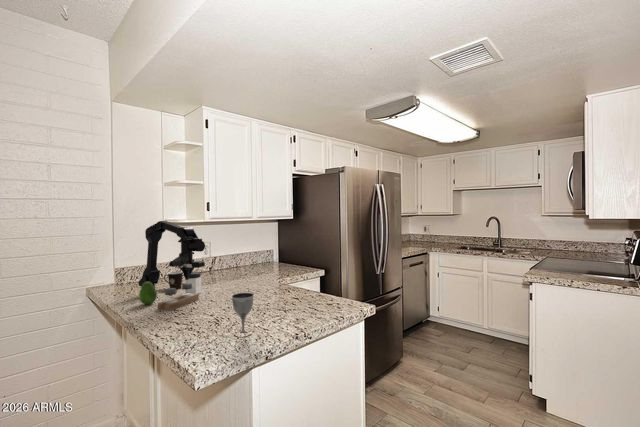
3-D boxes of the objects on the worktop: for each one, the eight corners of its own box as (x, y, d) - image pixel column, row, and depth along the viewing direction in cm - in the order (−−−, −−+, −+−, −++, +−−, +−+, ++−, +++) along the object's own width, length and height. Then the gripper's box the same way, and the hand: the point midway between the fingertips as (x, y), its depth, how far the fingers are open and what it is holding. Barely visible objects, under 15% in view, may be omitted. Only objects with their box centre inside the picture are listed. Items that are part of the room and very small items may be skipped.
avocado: (136, 305, 157) (136, 282, 157) (150, 301, 164) (150, 279, 164) (145, 307, 154) (145, 283, 154) (160, 303, 160) (160, 280, 160)
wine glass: (234, 330, 122) (234, 292, 122) (254, 329, 123) (254, 292, 123) (230, 338, 114) (230, 298, 114) (252, 337, 115) (251, 297, 115)
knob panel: (157, 309, 150) (157, 302, 150) (186, 298, 170) (186, 292, 170) (171, 310, 148) (171, 303, 148) (198, 299, 167) (198, 293, 167)
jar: (203, 293, 180) (202, 273, 180) (188, 295, 175) (188, 274, 175) (198, 290, 187) (198, 270, 187) (184, 292, 182) (183, 272, 182)
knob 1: (162, 296, 151) (162, 290, 151) (170, 294, 156) (170, 287, 156) (170, 297, 150) (170, 290, 150) (178, 294, 155) (178, 288, 155)
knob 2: (179, 290, 163) (179, 284, 163) (186, 288, 168) (186, 282, 168) (187, 291, 162) (187, 285, 162) (194, 289, 166) (194, 283, 166)
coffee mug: (185, 288, 194) (185, 272, 194) (173, 291, 187) (173, 274, 187) (175, 285, 200) (175, 270, 200) (162, 288, 193) (162, 272, 193)
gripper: (161, 252, 160) (161, 282, 160) (191, 253, 154) (191, 284, 154) (176, 249, 170) (176, 277, 170) (205, 250, 165) (205, 279, 165)
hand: (187, 279), depth 165 cm, fingers closed
